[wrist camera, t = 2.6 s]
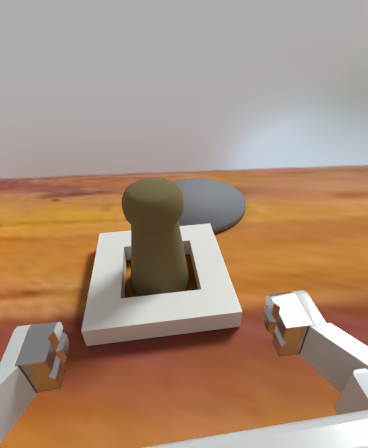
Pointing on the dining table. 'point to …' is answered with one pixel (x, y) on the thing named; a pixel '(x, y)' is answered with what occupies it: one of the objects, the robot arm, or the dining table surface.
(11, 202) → the dining table surface
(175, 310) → the white square frame
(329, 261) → the dining table surface
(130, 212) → the olive pawn
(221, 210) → the charcoal mat
